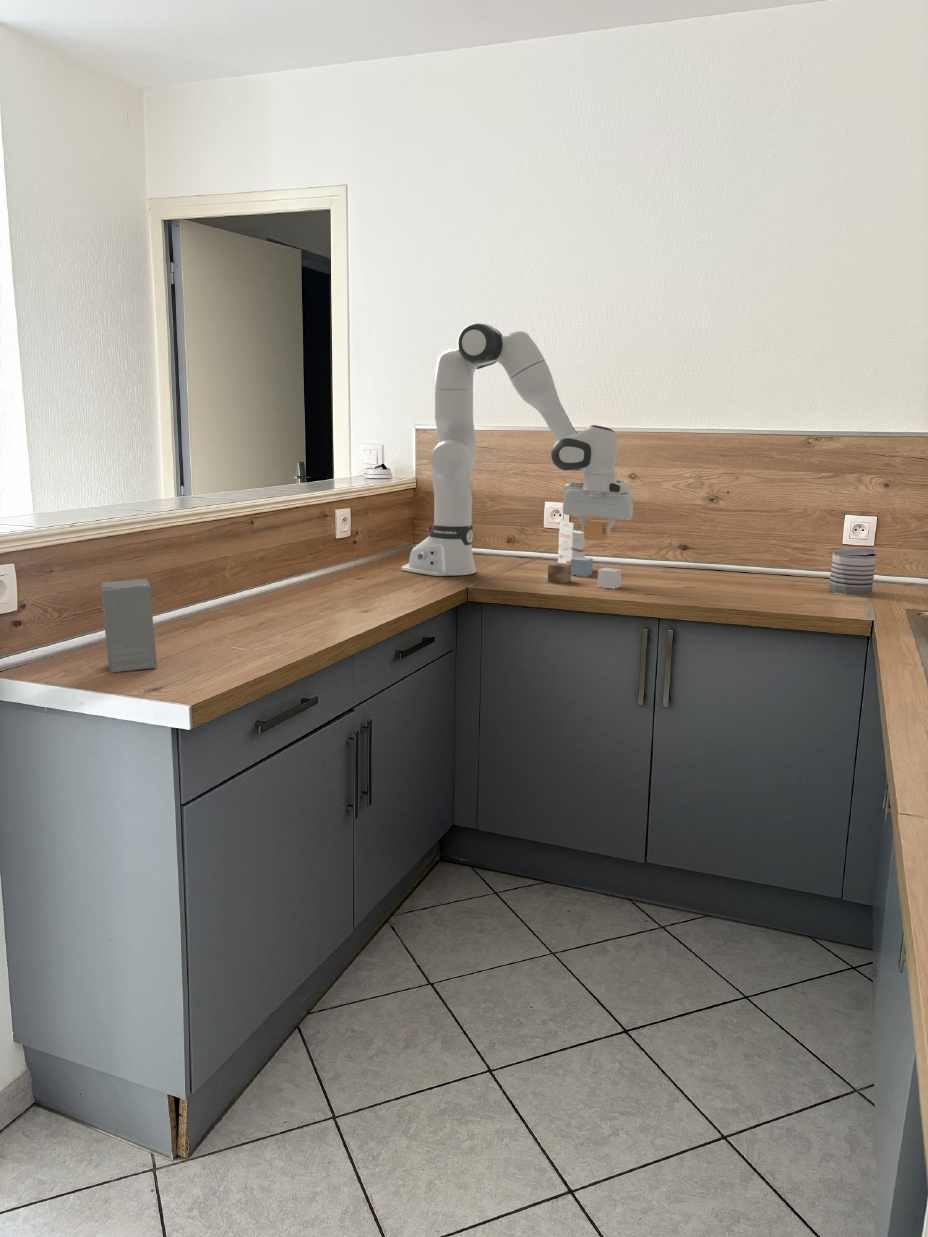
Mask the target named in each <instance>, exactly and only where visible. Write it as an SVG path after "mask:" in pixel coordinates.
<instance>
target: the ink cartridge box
mask: <svg viewBox="0 0 928 1237" xmlns="http://www.w3.org/2000/svg"><path fill="white" fill-rule="evenodd" d="M566 526H568V527H566ZM574 527H575V523H574V522H570V521H565V520H560V523H559V531H558V552H557V553H558V555H557V563H564V564H571V559H573V558H576V557H582V558H586V557H585V556H586V539H584V532H582V531H579V530H574Z"/></svg>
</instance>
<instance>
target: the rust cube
mask: <svg viewBox="0 0 928 1237" xmlns="http://www.w3.org/2000/svg"><path fill="white" fill-rule="evenodd" d="M584 521H585V529H584V539H585V540H587V541H588V540H589V541H597V542H598V541H599V542H601V541H605V540H607V539H608V535H606V534H603V528H606V527H607V526H608V524H609V523H608V522H607V521H605V520H594V519H590V520H584Z"/></svg>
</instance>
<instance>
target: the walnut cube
mask: <svg viewBox="0 0 928 1237" xmlns="http://www.w3.org/2000/svg"><path fill="white" fill-rule="evenodd" d="M571 565H572V564H564V563H558V562H554V563H550V564H548V565H547V566H548V568H547V582H548V583H552V582H553V584H561V583H565V584H567V583H570V582H571V581H572V576H571ZM569 581H570V582H569ZM566 582H567V583H566Z"/></svg>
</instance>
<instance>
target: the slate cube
mask: <svg viewBox="0 0 928 1237" xmlns="http://www.w3.org/2000/svg"><path fill="white" fill-rule="evenodd" d="M593 562H594V559H593V557H592V558H589V557H585V558H582V557H576V558H573V559H571V564H572V565H571V575H577V576H576V577H579V576H582V578H588V577H590V576H592V575H593V564H594V563H593ZM589 575H590V576H589ZM587 576H588V577H587Z"/></svg>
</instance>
